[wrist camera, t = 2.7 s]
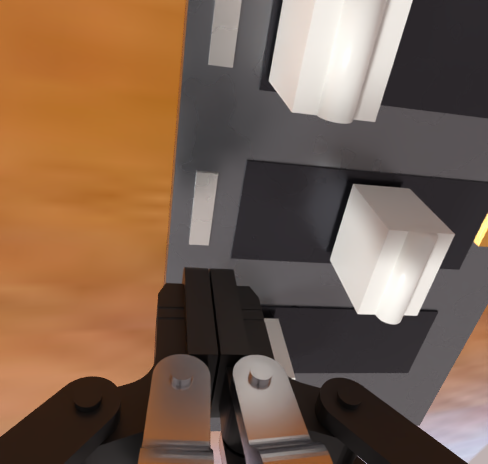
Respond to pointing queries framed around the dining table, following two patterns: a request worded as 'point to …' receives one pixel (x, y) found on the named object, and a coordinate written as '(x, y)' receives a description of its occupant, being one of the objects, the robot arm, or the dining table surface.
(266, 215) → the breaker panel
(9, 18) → the dining table surface
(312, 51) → the breaker
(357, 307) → the breaker
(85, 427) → the robot arm
